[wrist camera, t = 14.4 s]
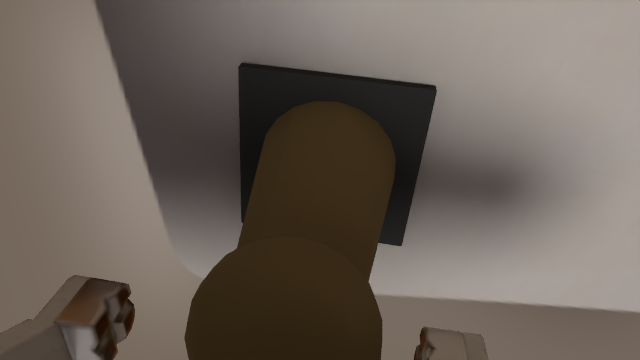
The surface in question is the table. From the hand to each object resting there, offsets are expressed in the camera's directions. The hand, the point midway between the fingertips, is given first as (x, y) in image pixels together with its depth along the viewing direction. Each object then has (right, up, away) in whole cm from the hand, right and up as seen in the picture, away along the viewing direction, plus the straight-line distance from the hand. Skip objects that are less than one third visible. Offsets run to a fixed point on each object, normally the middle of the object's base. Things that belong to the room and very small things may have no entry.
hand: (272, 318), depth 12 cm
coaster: (+2, +5, +8) cm, 9 cm away
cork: (+2, +5, +8) cm, 9 cm away
